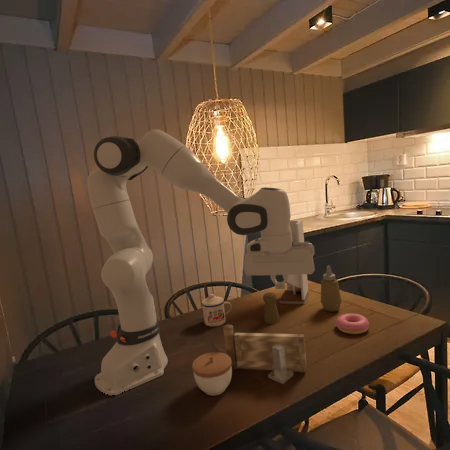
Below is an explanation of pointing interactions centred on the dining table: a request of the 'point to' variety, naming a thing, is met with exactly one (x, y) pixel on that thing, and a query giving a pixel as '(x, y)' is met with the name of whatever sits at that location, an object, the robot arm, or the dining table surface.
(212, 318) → the teacup with lid
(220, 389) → the lidded jar
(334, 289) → the squeeze bottle
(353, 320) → the doughnut
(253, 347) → the wooden panel
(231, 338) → the hinge post
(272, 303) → the cork
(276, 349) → the stop post
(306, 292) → the tiered white shelf
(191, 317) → the dining table surface
